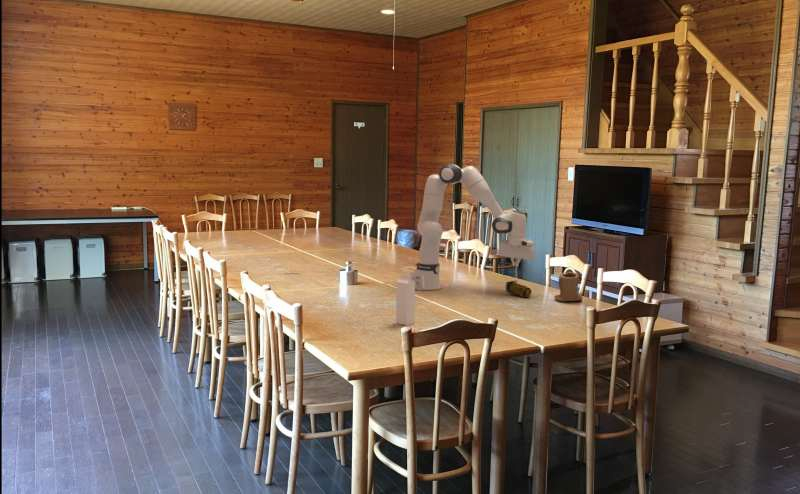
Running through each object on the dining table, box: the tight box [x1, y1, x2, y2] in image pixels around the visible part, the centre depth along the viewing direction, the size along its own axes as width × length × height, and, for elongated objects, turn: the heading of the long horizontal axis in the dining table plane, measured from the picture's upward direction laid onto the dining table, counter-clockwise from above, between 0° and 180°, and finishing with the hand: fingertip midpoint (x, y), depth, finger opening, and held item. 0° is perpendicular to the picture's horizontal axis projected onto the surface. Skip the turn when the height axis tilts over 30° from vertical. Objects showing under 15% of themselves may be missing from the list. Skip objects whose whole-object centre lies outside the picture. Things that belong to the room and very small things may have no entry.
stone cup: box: [554, 271, 584, 302], centre depth 344 cm, size 15×12×15 cm
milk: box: [395, 273, 416, 326], centre depth 294 cm, size 6×6×22 cm
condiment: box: [504, 280, 532, 298], centre depth 354 cm, size 7×8×12 cm
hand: (515, 266), depth 357 cm, fingers closed
